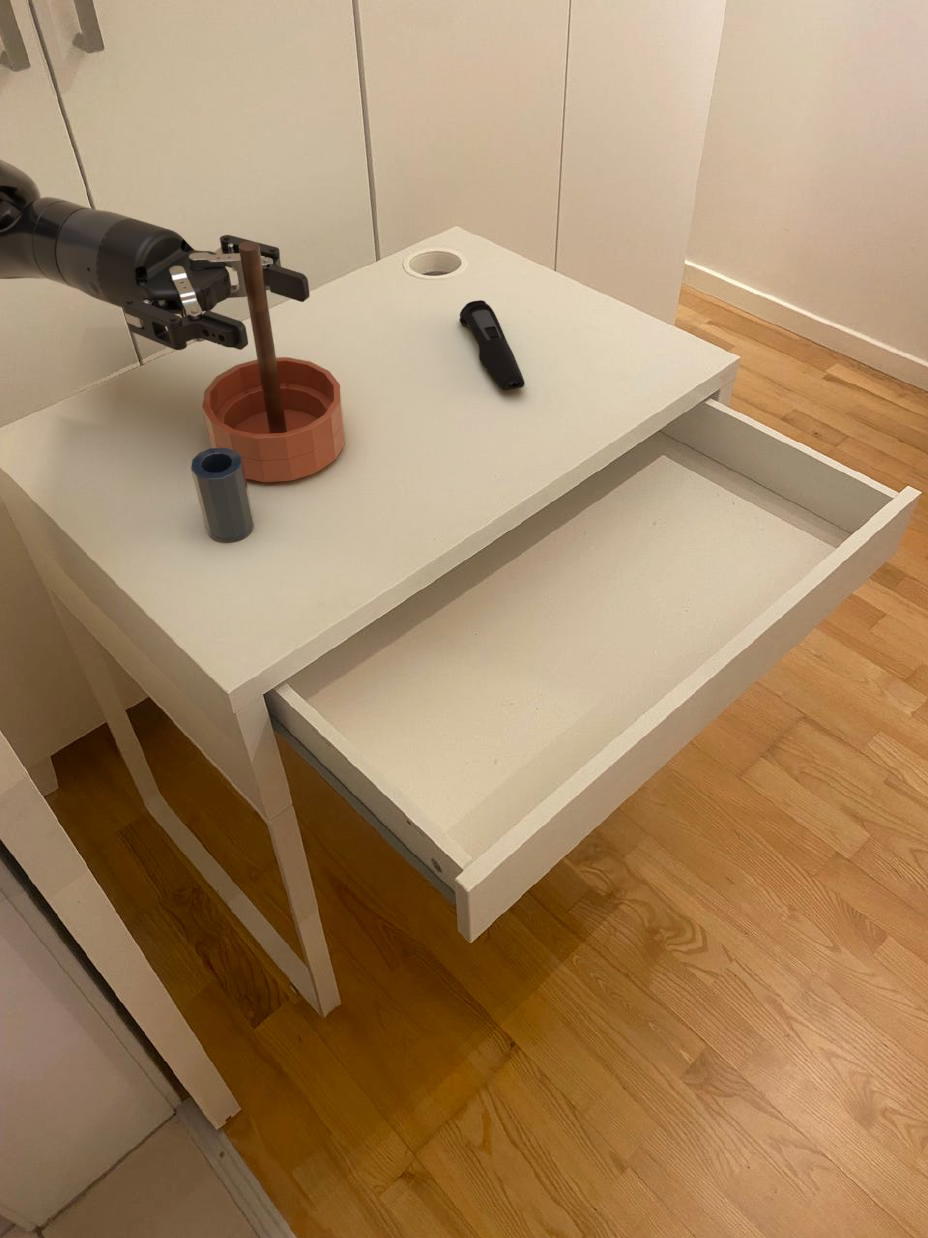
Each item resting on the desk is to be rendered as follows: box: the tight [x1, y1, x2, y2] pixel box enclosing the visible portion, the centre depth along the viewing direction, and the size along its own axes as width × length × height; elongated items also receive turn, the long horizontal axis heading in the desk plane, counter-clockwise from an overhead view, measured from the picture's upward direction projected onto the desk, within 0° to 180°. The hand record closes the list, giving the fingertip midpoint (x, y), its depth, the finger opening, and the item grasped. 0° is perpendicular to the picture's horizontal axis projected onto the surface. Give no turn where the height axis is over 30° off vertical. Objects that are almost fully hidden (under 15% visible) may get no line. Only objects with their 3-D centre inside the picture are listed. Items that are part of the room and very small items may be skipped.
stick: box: [239, 240, 287, 434], centre depth 83 cm, size 2×2×19 cm
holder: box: [190, 447, 255, 543], centre depth 80 cm, size 4×4×7 cm
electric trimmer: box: [459, 299, 525, 391], centre depth 99 cm, size 4×16×3 cm, turn 15°
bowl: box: [201, 356, 346, 483], centre depth 88 cm, size 12×12×6 cm
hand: (276, 312), depth 79 cm, fingers open, 8 cm apart
